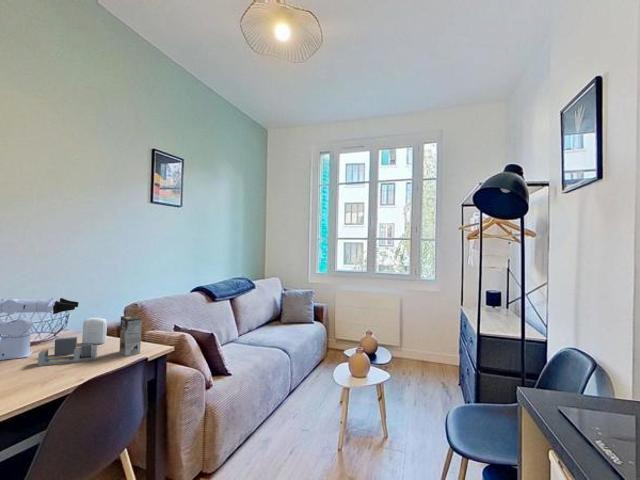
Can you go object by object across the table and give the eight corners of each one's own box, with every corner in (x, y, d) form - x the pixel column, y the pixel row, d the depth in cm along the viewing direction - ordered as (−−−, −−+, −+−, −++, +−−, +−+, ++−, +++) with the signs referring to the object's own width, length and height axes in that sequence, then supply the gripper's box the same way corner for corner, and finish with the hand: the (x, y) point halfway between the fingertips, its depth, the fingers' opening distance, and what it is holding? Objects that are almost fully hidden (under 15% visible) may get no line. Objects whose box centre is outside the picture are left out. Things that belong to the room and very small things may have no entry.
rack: (37, 366, 132) (38, 351, 132) (41, 361, 136) (42, 347, 137) (95, 360, 140) (95, 345, 141) (96, 356, 145) (97, 342, 145)
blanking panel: (54, 356, 144) (55, 339, 144) (55, 354, 146) (56, 338, 146) (75, 353, 147) (76, 338, 148) (76, 352, 150) (77, 336, 150)
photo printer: (107, 341, 166) (108, 317, 166) (103, 344, 162) (104, 318, 162) (85, 341, 165) (86, 317, 165) (80, 344, 161) (81, 318, 161)
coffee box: (118, 351, 152) (120, 316, 153) (134, 348, 157) (135, 314, 157) (124, 356, 146) (126, 319, 146) (140, 353, 151) (142, 317, 151)
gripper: (34, 298, 139) (74, 299, 145) (44, 294, 152) (80, 295, 158) (32, 315, 139) (72, 315, 145) (42, 310, 152) (78, 309, 158)
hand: (76, 305), depth 152 cm, fingers open, 7 cm apart
